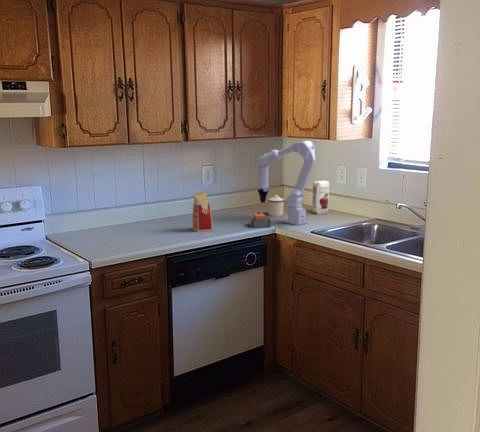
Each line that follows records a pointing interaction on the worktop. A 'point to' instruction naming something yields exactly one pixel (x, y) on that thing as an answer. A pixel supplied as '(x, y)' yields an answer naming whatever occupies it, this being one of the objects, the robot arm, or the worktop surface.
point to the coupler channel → (259, 222)
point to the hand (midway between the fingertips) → (262, 202)
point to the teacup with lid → (275, 206)
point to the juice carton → (320, 197)
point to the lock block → (258, 216)
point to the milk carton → (201, 213)
